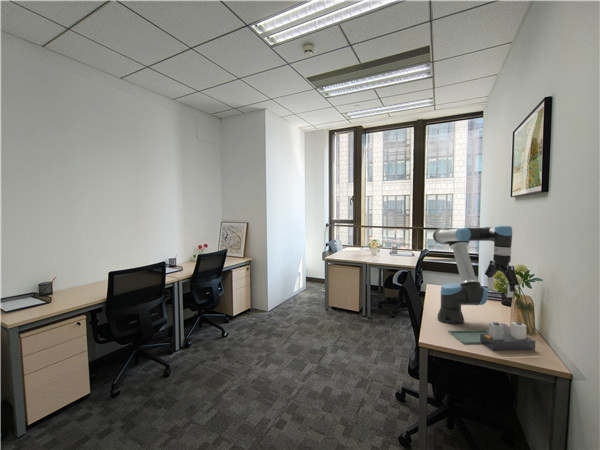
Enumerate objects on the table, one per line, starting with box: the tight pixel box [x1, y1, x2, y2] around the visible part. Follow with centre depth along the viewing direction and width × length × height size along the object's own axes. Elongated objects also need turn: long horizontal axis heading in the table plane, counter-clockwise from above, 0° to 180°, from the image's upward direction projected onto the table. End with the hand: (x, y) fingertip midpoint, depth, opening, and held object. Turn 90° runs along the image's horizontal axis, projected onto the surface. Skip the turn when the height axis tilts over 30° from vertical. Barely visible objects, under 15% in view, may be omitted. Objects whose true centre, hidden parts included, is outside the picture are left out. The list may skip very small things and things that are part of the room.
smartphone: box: [498, 322, 511, 334], centre depth 163 cm, size 7×1×15 cm
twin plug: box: [488, 321, 504, 340], centre depth 141 cm, size 4×4×11 cm
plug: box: [510, 321, 527, 340], centre depth 141 cm, size 4×4×11 cm
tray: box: [448, 329, 489, 345], centre depth 151 cm, size 14×22×2 cm, turn 92°
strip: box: [480, 333, 536, 352], centre depth 141 cm, size 9×22×6 cm, turn 92°
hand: (499, 292), depth 149 cm, fingers open, 13 cm apart
